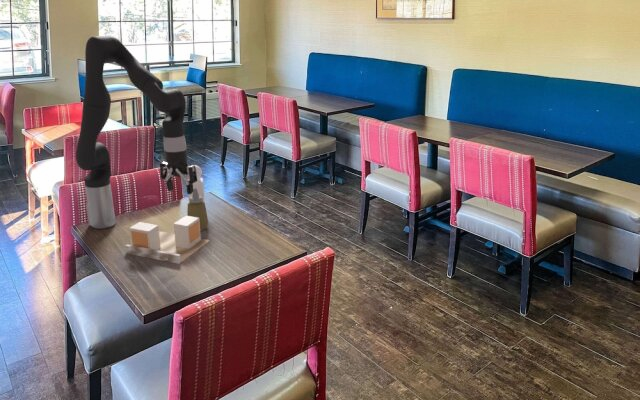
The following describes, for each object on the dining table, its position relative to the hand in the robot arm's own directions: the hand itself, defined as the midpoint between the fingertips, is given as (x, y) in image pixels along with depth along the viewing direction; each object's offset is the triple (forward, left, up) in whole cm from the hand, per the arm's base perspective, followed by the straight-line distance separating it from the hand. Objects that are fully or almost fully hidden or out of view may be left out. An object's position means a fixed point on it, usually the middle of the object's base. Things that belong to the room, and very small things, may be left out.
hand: (180, 192), depth 195 cm
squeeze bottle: (-2, +12, -21) cm, 24 cm away
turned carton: (+2, -1, -20) cm, 20 cm away
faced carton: (-9, -11, -19) cm, 24 cm away
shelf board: (-3, -6, -21) cm, 22 cm away
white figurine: (-11, +26, -21) cm, 35 cm away
